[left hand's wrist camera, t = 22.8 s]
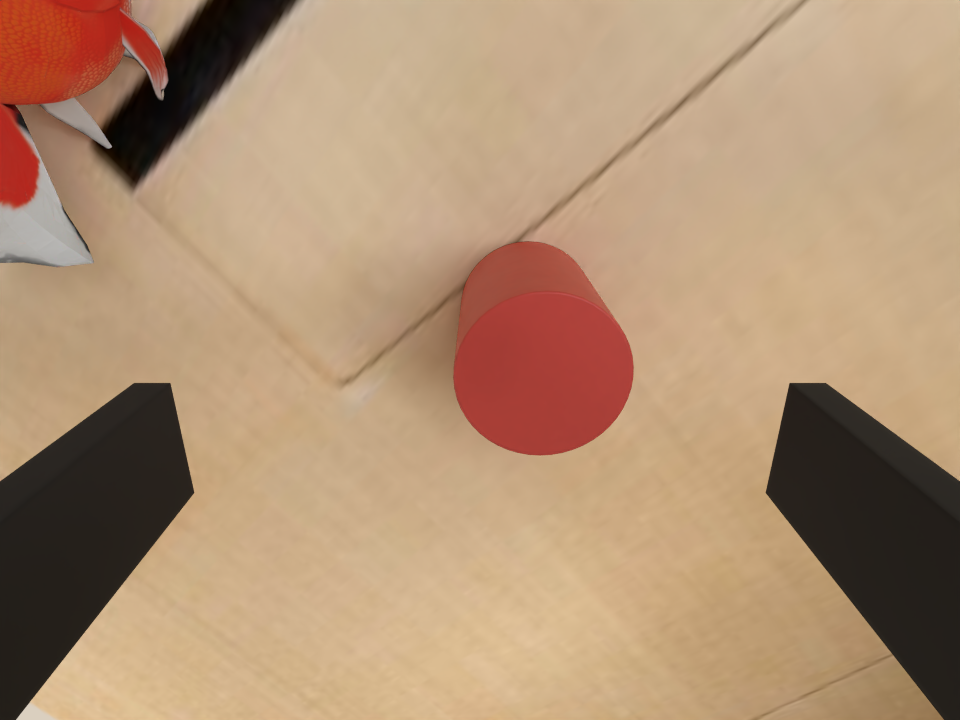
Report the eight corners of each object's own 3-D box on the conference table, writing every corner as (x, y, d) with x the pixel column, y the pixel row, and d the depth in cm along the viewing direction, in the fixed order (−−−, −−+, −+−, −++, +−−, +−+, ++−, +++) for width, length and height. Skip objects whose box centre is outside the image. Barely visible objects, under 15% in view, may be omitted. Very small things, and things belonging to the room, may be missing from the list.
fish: (314, 129, 20) (-40, 115, 12) (149, 306, 30) (-112, 361, 22) (175, -150, 20) (-277, -348, 12) (52, 117, 30) (-247, 104, 22)
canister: (515, 213, 26) (530, 252, 18) (617, 294, 28) (672, 363, 20) (435, 317, 28) (417, 393, 20) (534, 388, 30) (554, 485, 22)
